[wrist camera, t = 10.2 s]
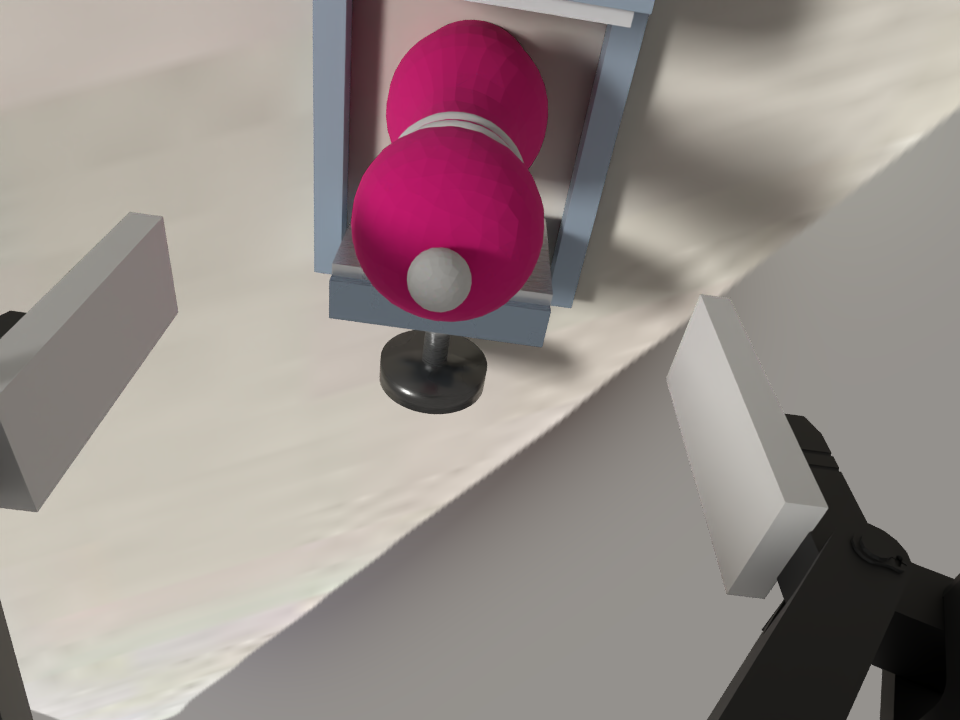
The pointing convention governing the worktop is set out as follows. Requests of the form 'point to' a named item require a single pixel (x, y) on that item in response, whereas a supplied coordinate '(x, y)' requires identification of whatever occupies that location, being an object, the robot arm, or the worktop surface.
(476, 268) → the pepper mill
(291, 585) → the worktop surface
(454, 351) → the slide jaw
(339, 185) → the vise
